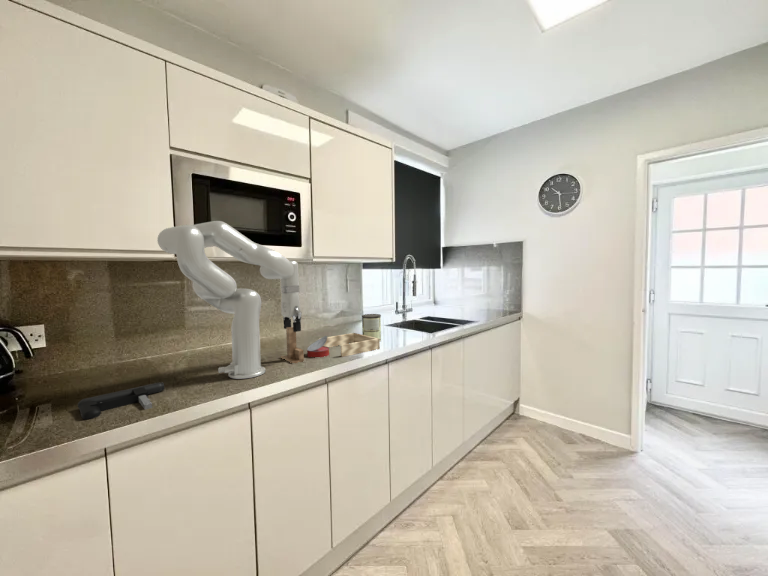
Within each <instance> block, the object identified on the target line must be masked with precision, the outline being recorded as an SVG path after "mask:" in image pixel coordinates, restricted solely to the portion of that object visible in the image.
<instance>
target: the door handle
mask: <svg viewBox="0 0 768 576" xmlns="http://www.w3.org/2000/svg"><path fill="white" fill-rule="evenodd" d="M164 390H165V383H164V382H163V381H161V382H154V383H151V384H150V383H149V384H145V385H141V386H137V387H133V388H128V389H124V390H123V389H122V390H119V391H115V392H109V393H105V394H100V395H96V396H95V395H94V396H92V397H87V398H83V399H81V400H79V401H78V403H77V409H79V411H80V415H81V418H82V419H83V420H85V421H87V420H92V419H95V418H96V419H97V418H98V417H99V416H101V413H102V412H104V411H107V410H112V409H116V408H120V407H124V406H128V405H132V404H135V403H136V404H137V403H139V404H140V406H141V407H142V408H143V410H148V409H152V408H153V403H152V402H151V399H149V395H153V394H156V393H160V392H163V391H164Z"/></svg>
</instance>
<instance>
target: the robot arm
mask: <svg viewBox="0 0 768 576" xmlns="http://www.w3.org/2000/svg"><path fill="white" fill-rule="evenodd" d="M156 242H157V244H158V246H159V248H160V249H161V250H162V251H164V252H165V253H168V254H170V255H176V260H177V264H178V267H179V271H180V272H181V273H182V274H183V275H184V276H185V277H186V278H188V280H190V281H191V282H192V289H193V291H194V293H195V295H196V296H197V297H199V298H200V299H201V300H203V301H204V302H206V303H207V304H209V305H211V306H213V307H214V308H216V309H217V310H219V311H220V312H223V313H226V314H233V318H232V320H231V321H232V322H231V326H230V327H231V329H230V330H231V352H232V362H230V364H229V365H227V366H219V367H218V368H217V370H218V373H219V374H222V373H224V374H228V378H230V379H233V380H234V379H236V380H240V379H242V380H243V379H251V378H255V377H259V376H261V375H263V374H265V373H266V368H265V367H264V366H262V363H261V361H262V359H261V358H262V357H261V334H260V333H261V332H260V331H261V330H260V316H261V309H262V297H261V295H260V294H259V293H258V292H257V291H256V290H254V289H251V288H243V287H242V288H238V285H237V282H236V280H235V279H234V277H232V275H230V274H229V273H227V272H226V271H224V270H223V269H222V268H221V267H219V266H218V265H217V264H216V263H215V262H213V261H212V260H210V259H209V258H208V256H207V254H206V252H205V248H211V247H216V248H218V249H219V250H221V251H223V252H225V253H226V254H228V255H230V256H231V257H233V258H234V259H236V260H237V261H239V262H242V263H245V264H250V265H256V266H259V267H260V268H259V273H260V275H261V276H262V277H263V278H264V279H267V280H280V293H281V294H280V295H281V298H280V314H281V316H282V319H283V329H284V330H286V328H288V327H293V332H296V333H297V332H301V331H302V325H301V324H302V311H301V302H300V291H301V290H300V275H299V263H298V262H297V260H289V259H288V258H287V257H285V256H284V255H282V253H280V252H277V251H276V250H275V249H274V250H273V249H272V248H269V247H266V246H264V245H262V244H259V243H256V242H254V241H252V240H251V239H250V238H248V237H247V236H245V235H244V234H242V233H241V232H239V231H238V230H237V229H236V228H234V227H233V226H231V225H229V224H228V223H226V222H224V221H222V220H213V221H207V222H201V223H195V224H183V225H176V226H172V227H168V228H167V227H166V228H164V229H163V230H161V231H160V232H159V233H158V236H157V241H156ZM292 321H293V322H292Z"/></svg>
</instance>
